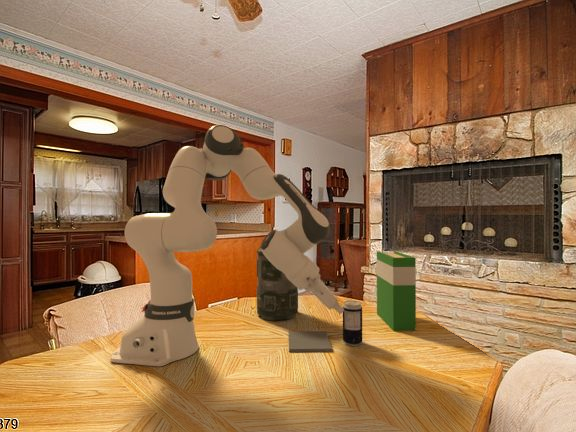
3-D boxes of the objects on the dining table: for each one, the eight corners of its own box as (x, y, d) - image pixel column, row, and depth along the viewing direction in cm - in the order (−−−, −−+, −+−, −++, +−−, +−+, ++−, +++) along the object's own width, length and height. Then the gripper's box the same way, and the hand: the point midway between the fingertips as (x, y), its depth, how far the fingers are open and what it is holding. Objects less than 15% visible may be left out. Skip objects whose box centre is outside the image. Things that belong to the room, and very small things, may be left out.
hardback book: (376, 313, 120) (376, 251, 119) (396, 313, 120) (395, 251, 120) (393, 331, 102) (393, 257, 102) (415, 330, 102) (415, 257, 102)
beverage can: (366, 344, 92) (366, 303, 92) (352, 348, 89) (352, 306, 89) (352, 337, 97) (352, 299, 97) (338, 342, 93) (338, 302, 93)
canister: (287, 324, 109) (286, 244, 109) (248, 317, 116) (248, 242, 116) (304, 311, 123) (304, 240, 123) (269, 306, 130) (268, 239, 130)
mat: (289, 351, 87) (289, 349, 87) (288, 333, 100) (288, 331, 100) (331, 351, 87) (331, 348, 87) (325, 333, 100) (325, 331, 100)
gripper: (319, 274, 82) (355, 309, 84) (307, 261, 103) (336, 289, 104) (303, 292, 82) (339, 327, 83) (293, 275, 102) (323, 303, 104)
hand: (337, 306), depth 94 cm, fingers open, 8 cm apart
